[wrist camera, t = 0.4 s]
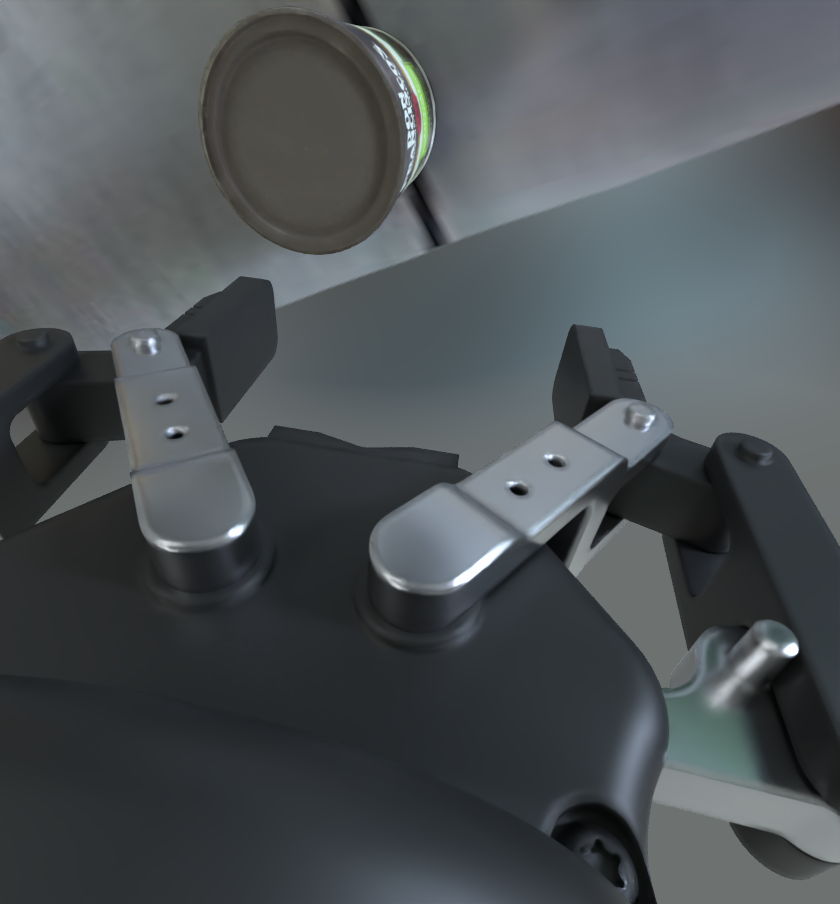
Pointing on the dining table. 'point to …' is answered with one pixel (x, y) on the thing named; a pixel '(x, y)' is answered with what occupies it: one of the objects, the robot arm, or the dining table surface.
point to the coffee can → (313, 126)
